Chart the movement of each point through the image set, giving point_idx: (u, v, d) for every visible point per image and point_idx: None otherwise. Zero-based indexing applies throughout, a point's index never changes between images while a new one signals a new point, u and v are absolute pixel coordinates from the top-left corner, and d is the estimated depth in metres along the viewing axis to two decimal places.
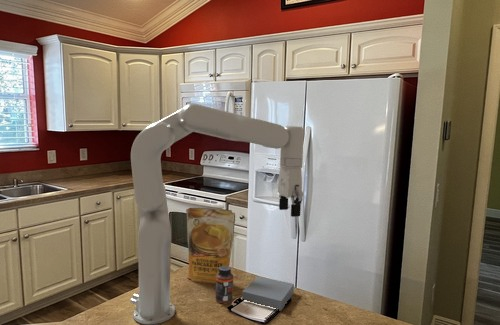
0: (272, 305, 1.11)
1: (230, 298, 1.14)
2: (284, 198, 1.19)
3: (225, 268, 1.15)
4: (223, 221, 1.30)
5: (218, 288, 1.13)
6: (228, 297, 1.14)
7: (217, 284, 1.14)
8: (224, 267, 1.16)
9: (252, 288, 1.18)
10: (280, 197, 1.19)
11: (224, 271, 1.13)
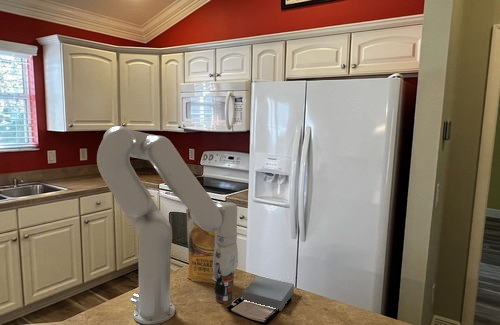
0: (272, 305, 1.11)
1: (230, 298, 1.14)
2: None
3: None
4: None
5: None
6: (228, 297, 1.14)
7: None
8: None
9: (252, 288, 1.18)
10: None
11: None
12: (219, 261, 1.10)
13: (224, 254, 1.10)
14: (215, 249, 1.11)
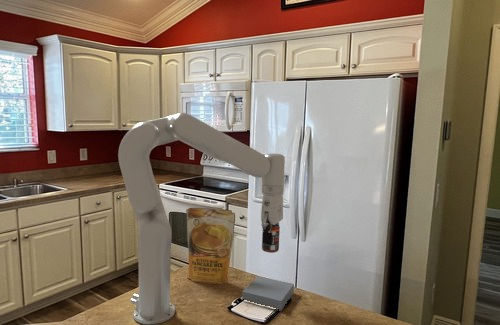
0: (272, 305, 1.11)
1: (277, 248, 1.16)
2: None
3: None
4: (223, 221, 1.30)
5: None
6: (275, 247, 1.15)
7: None
8: None
9: (252, 288, 1.18)
10: None
11: None
12: (268, 209, 1.11)
13: (273, 202, 1.11)
14: (263, 198, 1.12)
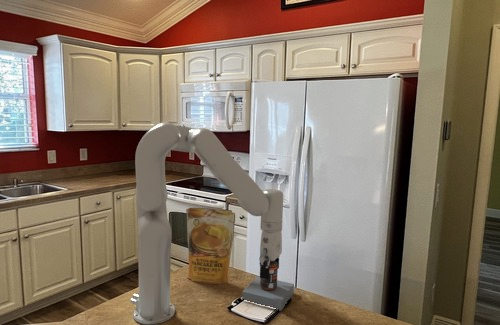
0: (272, 305, 1.11)
1: (275, 285, 1.17)
2: None
3: None
4: (223, 221, 1.29)
5: None
6: (273, 284, 1.16)
7: None
8: None
9: (252, 288, 1.18)
10: (268, 266, 1.13)
11: None
12: (267, 246, 1.12)
13: (272, 239, 1.12)
14: (262, 235, 1.14)
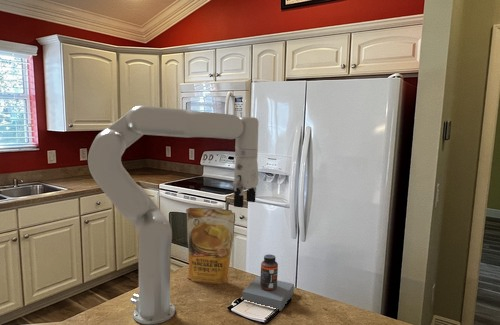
0: (272, 305, 1.11)
1: (275, 285, 1.17)
2: None
3: (270, 256, 1.18)
4: (223, 221, 1.29)
5: (264, 275, 1.16)
6: (273, 284, 1.16)
7: (262, 272, 1.16)
8: (269, 255, 1.18)
9: (252, 288, 1.18)
10: None
11: (270, 259, 1.16)
12: (241, 173, 1.09)
13: (246, 166, 1.09)
14: (236, 162, 1.10)
